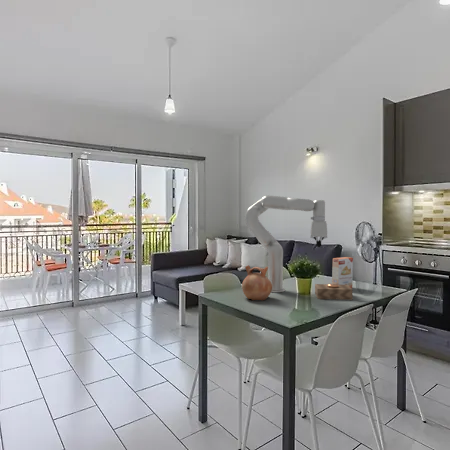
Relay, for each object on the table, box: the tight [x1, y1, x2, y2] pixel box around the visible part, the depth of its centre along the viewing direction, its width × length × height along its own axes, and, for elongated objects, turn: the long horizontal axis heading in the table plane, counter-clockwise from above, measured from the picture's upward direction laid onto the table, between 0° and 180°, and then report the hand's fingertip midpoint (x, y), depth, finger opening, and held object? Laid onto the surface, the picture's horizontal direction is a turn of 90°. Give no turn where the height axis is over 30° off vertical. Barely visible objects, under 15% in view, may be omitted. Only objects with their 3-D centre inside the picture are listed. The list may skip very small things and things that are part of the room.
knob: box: [326, 283, 339, 288], centre depth 217 cm, size 7×7×7 cm
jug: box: [241, 264, 272, 301], centre depth 213 cm, size 18×18×20 cm
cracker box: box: [331, 256, 354, 289], centre depth 239 cm, size 14×6×21 cm, turn 120°
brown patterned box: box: [314, 283, 353, 301], centre depth 217 cm, size 20×14×6 cm
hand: (318, 247), depth 231 cm, fingers closed
